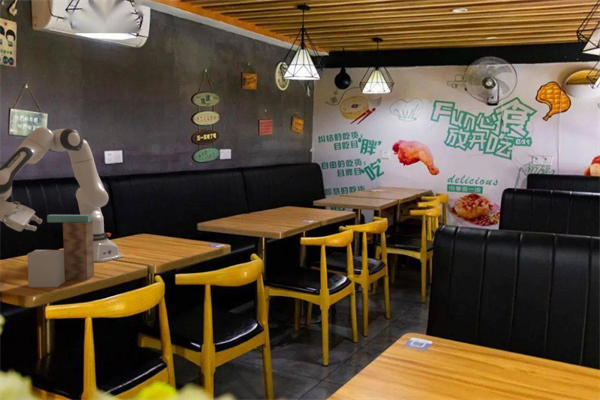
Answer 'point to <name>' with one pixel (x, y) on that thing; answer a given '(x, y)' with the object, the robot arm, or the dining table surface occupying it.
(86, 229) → the stand
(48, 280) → the grey block
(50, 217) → the rail
